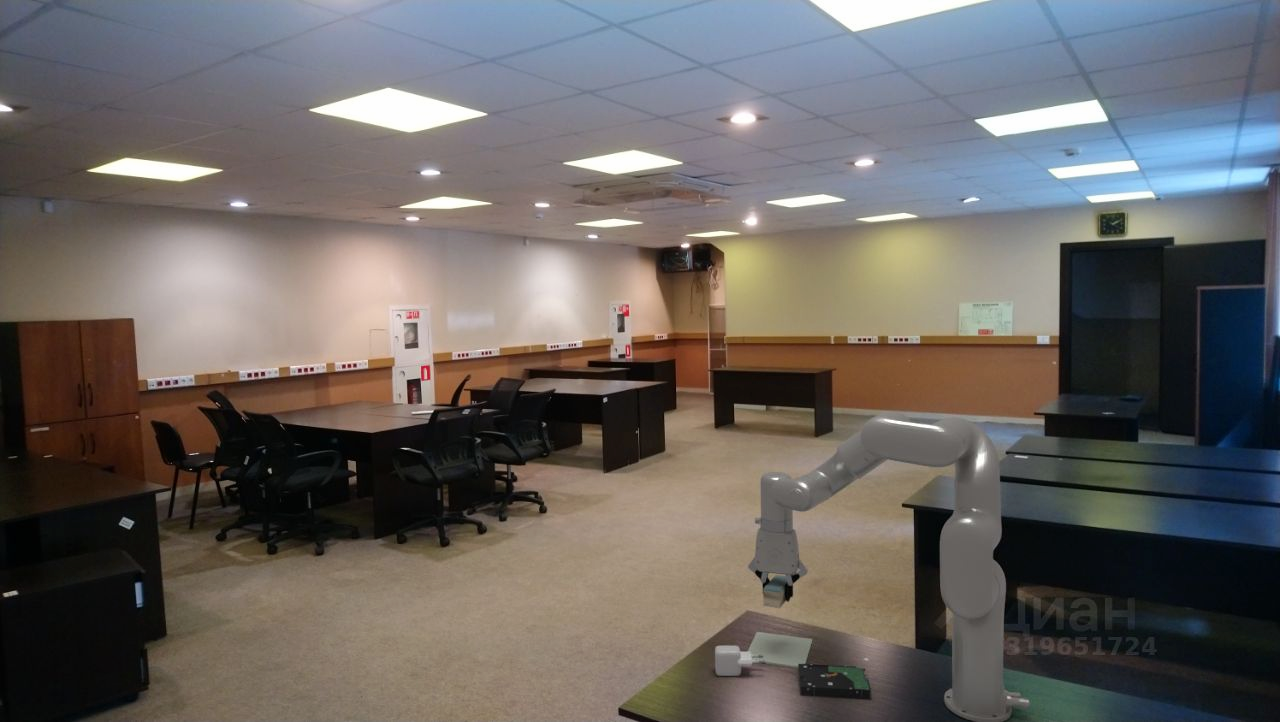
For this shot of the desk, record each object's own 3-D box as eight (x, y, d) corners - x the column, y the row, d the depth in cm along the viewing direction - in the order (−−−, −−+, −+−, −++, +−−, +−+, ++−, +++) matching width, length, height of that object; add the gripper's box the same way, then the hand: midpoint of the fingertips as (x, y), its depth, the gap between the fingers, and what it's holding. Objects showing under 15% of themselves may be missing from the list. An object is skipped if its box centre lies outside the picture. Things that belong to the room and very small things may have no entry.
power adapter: (763, 667, 169) (762, 643, 168) (765, 678, 164) (764, 653, 163) (714, 667, 169) (714, 643, 169) (715, 678, 165) (715, 653, 164)
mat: (812, 641, 181) (812, 639, 181) (803, 669, 167) (803, 667, 167) (757, 634, 186) (756, 631, 186) (744, 660, 172) (744, 658, 172)
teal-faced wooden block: (779, 608, 170) (779, 591, 170) (763, 605, 172) (763, 588, 172) (791, 593, 179) (791, 577, 179) (776, 590, 181) (775, 574, 181)
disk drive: (800, 699, 156) (872, 702, 154) (800, 686, 156) (871, 689, 153) (797, 674, 166) (864, 677, 164) (797, 663, 166) (864, 665, 164)
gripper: (738, 526, 174) (740, 600, 175) (810, 532, 168) (811, 608, 169) (745, 517, 181) (746, 588, 182) (814, 522, 175) (815, 596, 176)
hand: (777, 597), depth 176 cm, fingers closed on teal-faced wooden block, 4 cm apart
